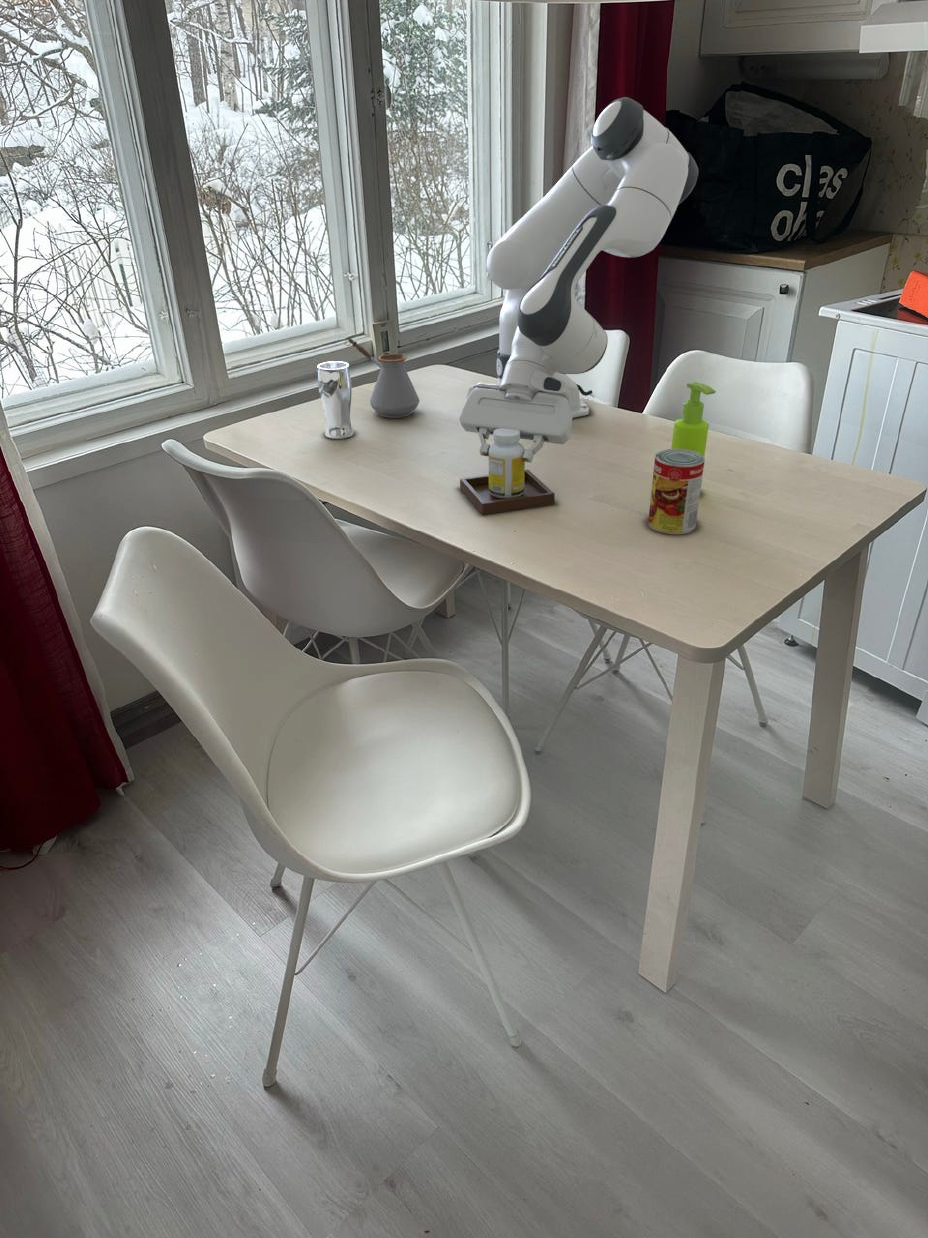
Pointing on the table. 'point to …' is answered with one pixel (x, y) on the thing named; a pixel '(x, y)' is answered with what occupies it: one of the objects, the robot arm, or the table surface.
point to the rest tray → (488, 504)
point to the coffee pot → (391, 386)
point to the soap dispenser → (692, 422)
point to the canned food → (675, 491)
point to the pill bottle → (506, 464)
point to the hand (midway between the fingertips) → (505, 457)
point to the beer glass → (336, 398)
